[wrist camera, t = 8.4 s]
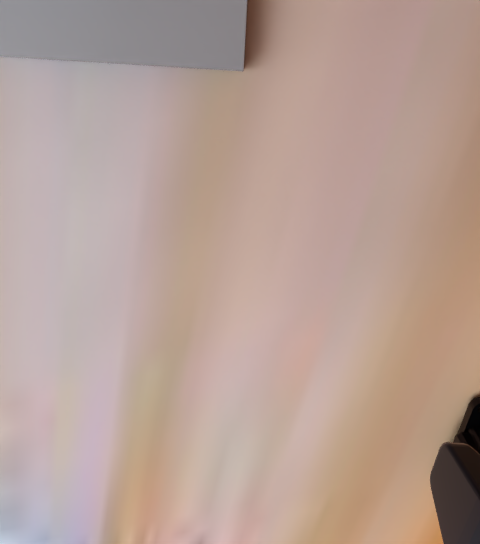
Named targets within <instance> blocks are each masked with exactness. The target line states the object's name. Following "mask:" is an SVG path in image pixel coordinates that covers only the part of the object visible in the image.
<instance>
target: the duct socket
mask: <svg viewBox="0 0 480 544" xmlns="http://www.w3.org/2000/svg"><path fill="white" fill-rule="evenodd" d="M246 19H247V0H0V57H17V58H33V59H49V60H66V61H82V62H99V63H115V64H132V65H148V66H164V67H181V68H197V69H214V70H230V71H244V56H245V37H246Z"/></svg>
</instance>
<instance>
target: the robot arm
mask: <svg viewBox="0 0 480 544" xmlns="http://www.w3.org/2000/svg"><path fill="white" fill-rule="evenodd" d="M430 484H431V490H432V494H433V499H434V503H435V508H436V512H437V516H438V521H439V525H440V530H441V534H442V538H443V543H444V544H480V397H477V398H474V399H473V400H472V401H471V402H470V403H469V406H468V408H467V411H466V413H465V416H464V419H463V421H462V424H461V426H460V429H459V432H458V434H457V435H456V436H455V439H454V442H453V443H450V442H446V443H444V444H442V445H441V447H440V449H439V452H438V455H437V457H436V460H435V463H434V466H433V468H432V471H431V476H430Z"/></svg>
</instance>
